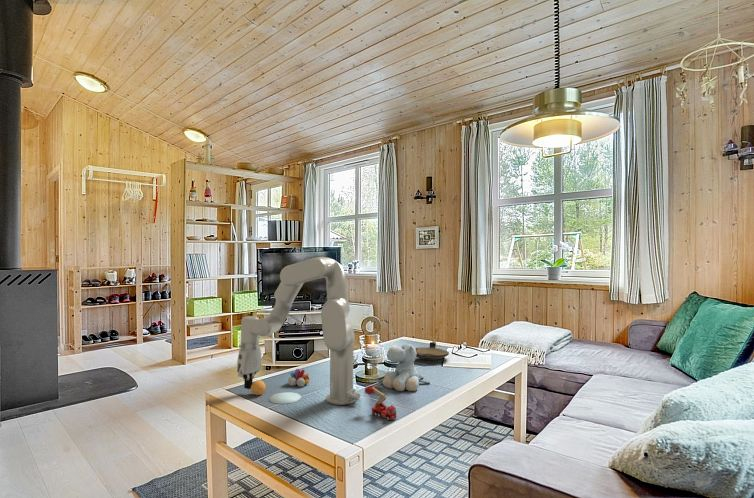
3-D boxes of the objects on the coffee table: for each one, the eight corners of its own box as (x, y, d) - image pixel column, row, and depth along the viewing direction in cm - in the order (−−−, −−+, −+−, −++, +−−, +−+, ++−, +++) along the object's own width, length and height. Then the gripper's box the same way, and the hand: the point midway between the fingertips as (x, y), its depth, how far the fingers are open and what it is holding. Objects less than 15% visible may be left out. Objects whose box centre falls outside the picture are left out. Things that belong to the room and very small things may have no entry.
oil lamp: (400, 360, 233) (400, 346, 233) (428, 350, 256) (428, 338, 256) (435, 367, 219) (435, 353, 219) (461, 356, 243) (461, 343, 243)
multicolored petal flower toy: (305, 388, 186) (305, 372, 186) (285, 387, 188) (285, 370, 188) (312, 382, 194) (312, 367, 194) (292, 381, 196) (292, 365, 196)
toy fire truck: (392, 421, 150) (392, 395, 150) (364, 411, 159) (364, 386, 159) (397, 419, 152) (397, 392, 152) (370, 409, 162) (370, 384, 162)
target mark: (307, 396, 175) (307, 395, 175) (285, 406, 164) (285, 405, 164) (284, 390, 182) (284, 390, 182) (262, 399, 171) (262, 399, 171)
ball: (257, 390, 182) (268, 393, 179) (247, 394, 177) (257, 398, 174) (258, 376, 181) (268, 380, 178) (248, 381, 176) (258, 384, 173)
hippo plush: (377, 381, 196) (377, 342, 196) (423, 378, 201) (423, 340, 201) (387, 394, 178) (387, 351, 178) (437, 390, 184) (437, 348, 184)
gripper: (241, 350, 170) (240, 395, 170) (268, 343, 183) (267, 385, 183) (229, 347, 174) (228, 391, 174) (257, 341, 187) (255, 381, 187)
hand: (248, 388), depth 179 cm, fingers closed
